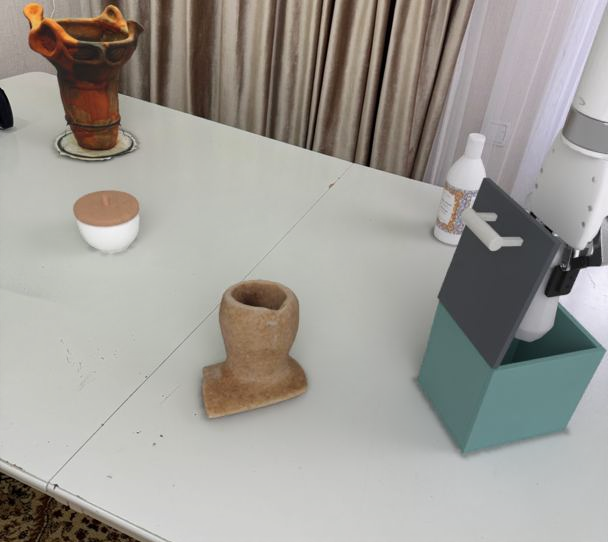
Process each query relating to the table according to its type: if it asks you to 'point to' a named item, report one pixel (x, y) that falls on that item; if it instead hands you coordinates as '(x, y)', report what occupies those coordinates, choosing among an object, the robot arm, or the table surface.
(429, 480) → the table surface
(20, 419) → the table surface
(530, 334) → the salt shaker
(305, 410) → the table surface
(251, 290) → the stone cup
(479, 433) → the teal storage box
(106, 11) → the decorative vase
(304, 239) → the table surface
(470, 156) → the bath foam
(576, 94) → the robot arm
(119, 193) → the trinket box
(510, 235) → the dark gray box lid
